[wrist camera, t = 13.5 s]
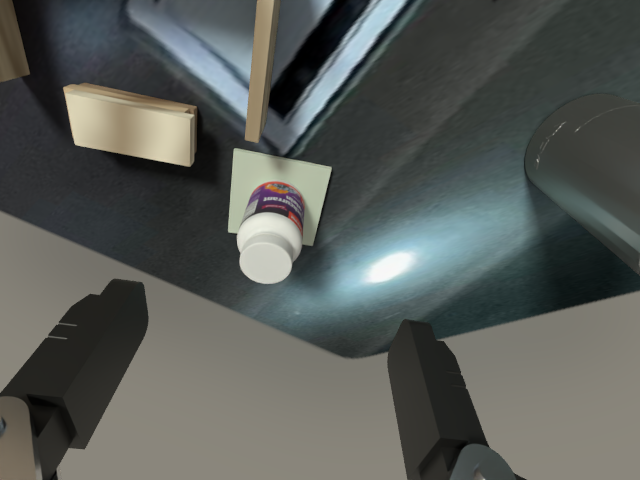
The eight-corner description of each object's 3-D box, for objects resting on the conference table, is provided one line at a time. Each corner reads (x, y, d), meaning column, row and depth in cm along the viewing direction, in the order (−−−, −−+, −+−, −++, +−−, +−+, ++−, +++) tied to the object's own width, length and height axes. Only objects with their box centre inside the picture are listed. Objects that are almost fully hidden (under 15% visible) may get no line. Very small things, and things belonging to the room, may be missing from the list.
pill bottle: (315, 195, 34) (315, 257, 26) (287, 234, 36) (278, 300, 28) (266, 166, 32) (250, 222, 24) (240, 209, 35) (217, 272, 27)
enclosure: (291, -86, 23) (280, -120, 16) (266, 123, 30) (252, 157, 24) (-50, -183, 20) (-229, -271, 14) (16, 71, 28) (-77, 93, 21)
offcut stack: (202, 107, 30) (190, 119, 27) (201, 151, 32) (190, 166, 29) (80, 81, 28) (53, 90, 25) (88, 128, 31) (64, 142, 28)
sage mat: (331, 167, 33) (331, 169, 32) (312, 243, 38) (312, 246, 37) (234, 148, 31) (233, 149, 31) (228, 229, 36) (227, 232, 36)
